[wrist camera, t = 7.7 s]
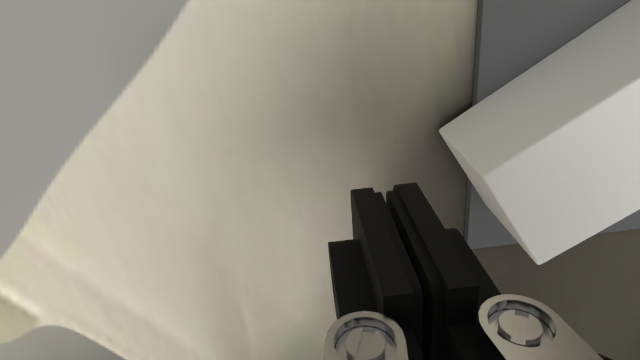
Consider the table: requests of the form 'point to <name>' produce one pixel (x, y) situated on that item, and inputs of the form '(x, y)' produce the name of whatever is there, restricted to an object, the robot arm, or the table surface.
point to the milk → (560, 140)
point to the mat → (511, 61)
